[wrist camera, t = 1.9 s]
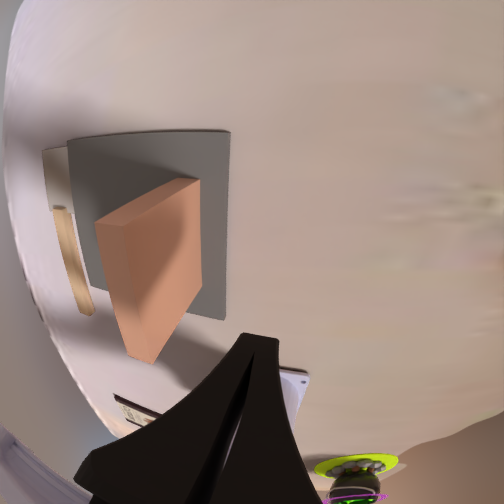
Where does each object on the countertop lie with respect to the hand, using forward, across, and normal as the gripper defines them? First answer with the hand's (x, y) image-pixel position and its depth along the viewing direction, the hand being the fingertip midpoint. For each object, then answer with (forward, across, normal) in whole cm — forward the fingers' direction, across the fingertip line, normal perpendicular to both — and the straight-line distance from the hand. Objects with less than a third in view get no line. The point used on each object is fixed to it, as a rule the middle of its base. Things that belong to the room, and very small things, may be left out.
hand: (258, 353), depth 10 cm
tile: (+9, +6, 0) cm, 11 cm away
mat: (+9, +11, 0) cm, 14 cm away
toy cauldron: (+10, -18, +39) cm, 44 cm away
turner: (+9, +20, +2) cm, 22 cm away
